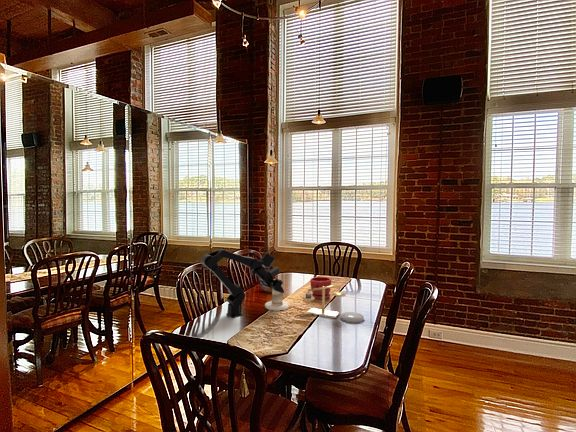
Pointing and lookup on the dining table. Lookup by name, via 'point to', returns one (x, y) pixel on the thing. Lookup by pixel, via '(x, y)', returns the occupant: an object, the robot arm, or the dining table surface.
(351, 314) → the slate dish
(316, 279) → the plant pot
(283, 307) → the cream dish
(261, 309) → the dining table surface
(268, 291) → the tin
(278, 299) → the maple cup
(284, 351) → the dining table surface
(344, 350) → the dining table surface
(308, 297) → the brass balance
